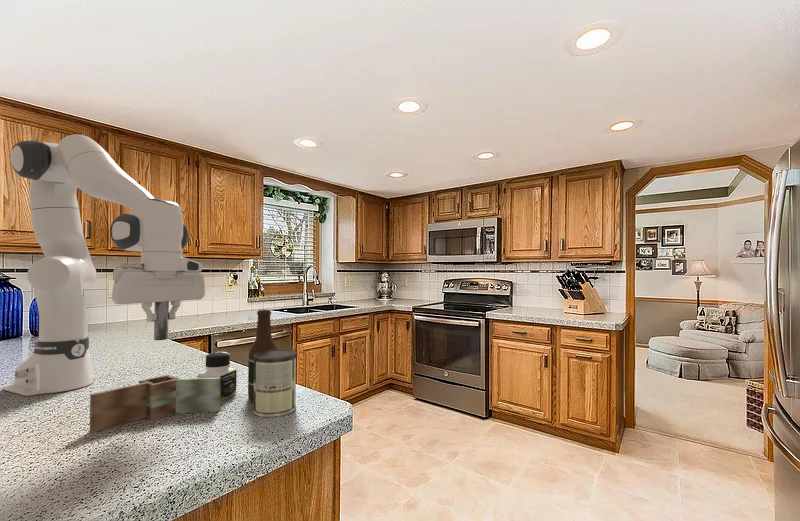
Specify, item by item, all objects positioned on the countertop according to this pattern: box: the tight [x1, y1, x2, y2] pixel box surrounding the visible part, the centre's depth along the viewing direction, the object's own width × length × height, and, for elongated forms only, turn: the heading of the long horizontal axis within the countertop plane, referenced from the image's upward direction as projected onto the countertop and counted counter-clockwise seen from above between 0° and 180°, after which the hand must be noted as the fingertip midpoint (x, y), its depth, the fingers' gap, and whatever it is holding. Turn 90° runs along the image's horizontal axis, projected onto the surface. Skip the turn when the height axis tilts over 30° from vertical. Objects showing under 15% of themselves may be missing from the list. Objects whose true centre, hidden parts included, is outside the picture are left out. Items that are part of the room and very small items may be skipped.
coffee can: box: [252, 348, 298, 418], centre depth 98 cm, size 10×10×14 cm
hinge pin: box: [153, 301, 170, 341], centre depth 96 cm, size 3×3×12 cm
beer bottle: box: [247, 309, 278, 403], centre depth 107 cm, size 8×8×24 cm
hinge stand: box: [89, 374, 221, 434], centre depth 92 cm, size 23×14×8 cm, turn 147°
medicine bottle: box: [197, 351, 237, 402], centre depth 108 cm, size 7×7×12 cm
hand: (161, 320), depth 96 cm, fingers closed on hinge pin, 3 cm apart
